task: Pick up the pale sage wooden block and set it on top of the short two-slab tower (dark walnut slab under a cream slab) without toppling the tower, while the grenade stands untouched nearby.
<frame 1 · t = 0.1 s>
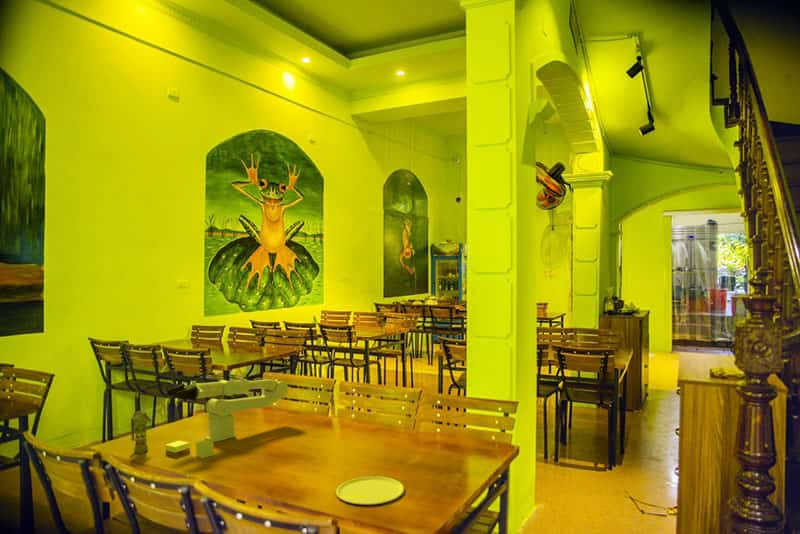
hand: (171, 393, 209), 22 cm above the table, tool horizontal, fingers open, 7 cm apart
sage block: (204, 455, 202), on the table
cream slab: (177, 449, 206), point 1 cm above the table, touching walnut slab
grenade: (140, 450, 209), on the table
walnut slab: (178, 454, 206), on the table, touching cream slab
plate: (370, 493, 166), on the table
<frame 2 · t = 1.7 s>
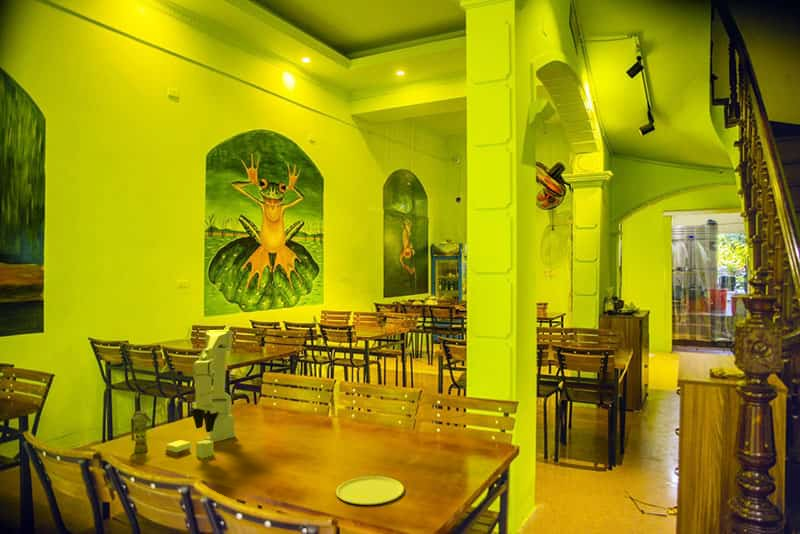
hand: (204, 429, 202), 10 cm above the table, tool pointing down, fingers open, 7 cm apart
nothing on the table moved.
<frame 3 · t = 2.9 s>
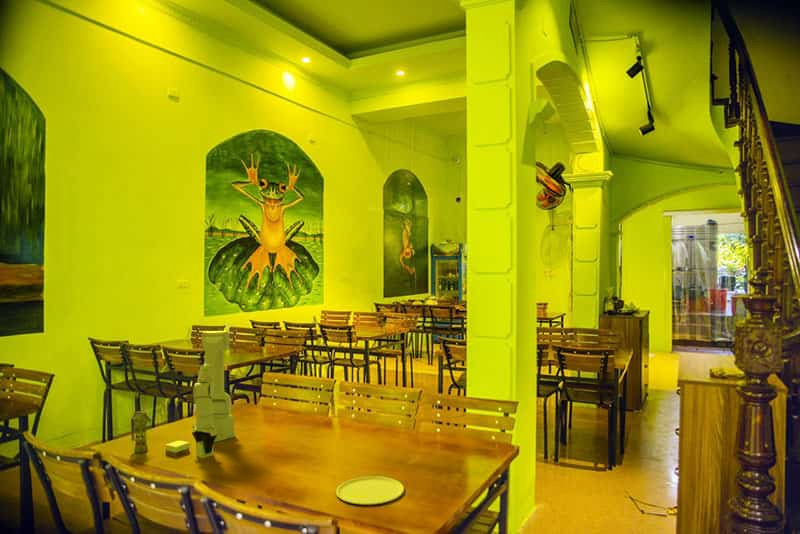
hand: (204, 451, 202), 1 cm above the table, tool pointing down, fingers closed on sage block, 4 cm apart
sage block: (204, 455, 202), on the table, touching gripper
everything else where it was.
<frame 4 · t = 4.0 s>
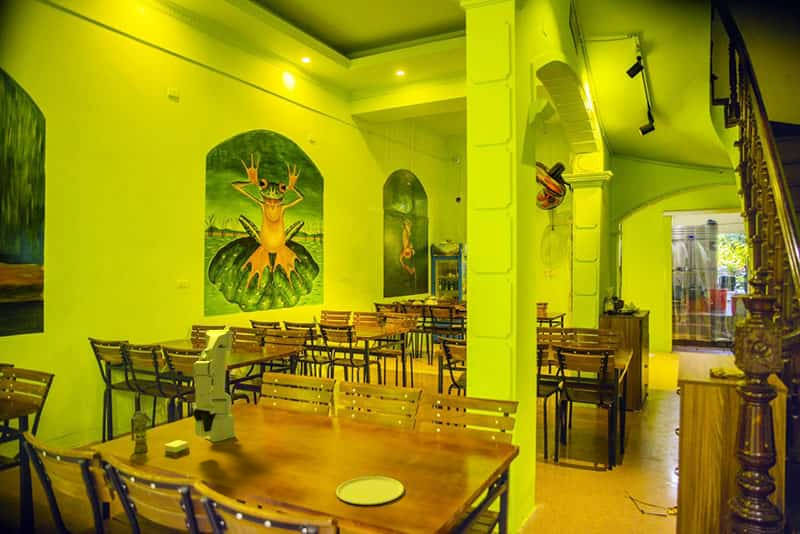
hand: (204, 430, 202), 9 cm above the table, tool pointing down, fingers closed on sage block, 4 cm apart
sage block: (204, 434, 202), point 8 cm above the table, touching gripper
everything else where it was.
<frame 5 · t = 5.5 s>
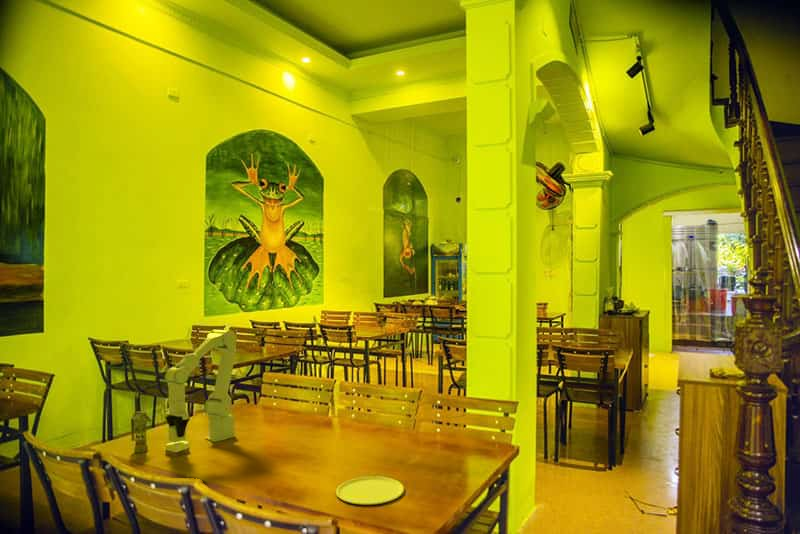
hand: (177, 435, 206), 6 cm above the table, tool pointing down, fingers closed on sage block, 4 cm apart
sage block: (177, 439, 206), point 5 cm above the table, touching gripper
cream slab: (177, 448, 206), point 1 cm above the table
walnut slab: (177, 454, 206), on the table
everything else where it was.
when the fingers open (6 cm above the table, at t = 5.9 s): sage block drops 1 cm, resting on cream slab.
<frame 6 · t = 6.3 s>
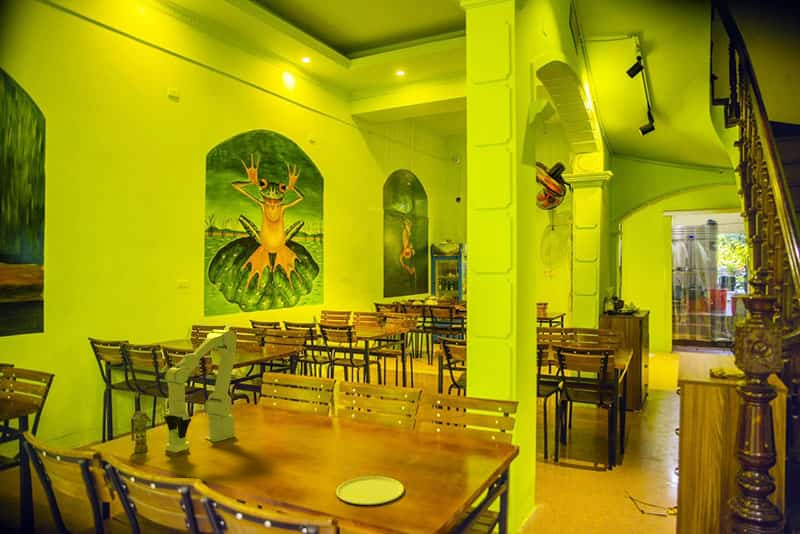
hand: (177, 435, 206), 6 cm above the table, tool pointing down, fingers open, 7 cm apart
sage block: (177, 443, 206), point 3 cm above the table, touching cream slab
cream slab: (178, 448, 206), point 1 cm above the table, touching sage block, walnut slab
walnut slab: (177, 454, 206), on the table, touching cream slab
everything else where it was.
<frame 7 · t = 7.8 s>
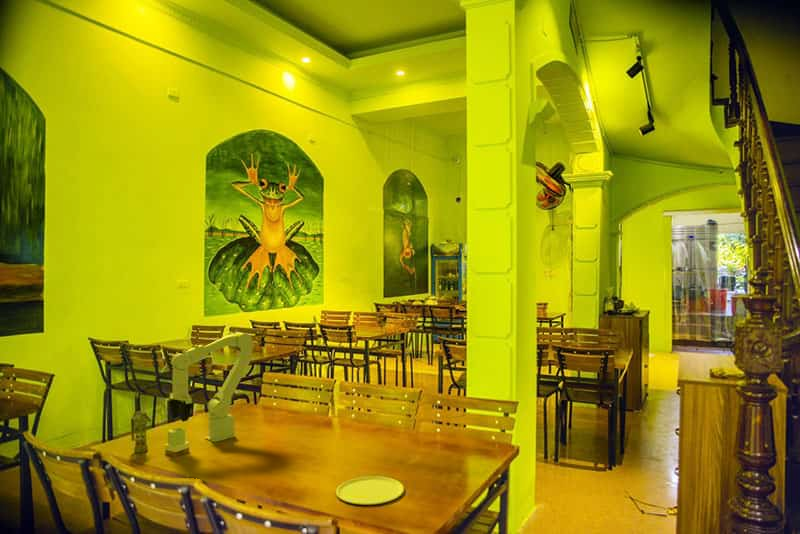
hand: (180, 419, 214), 10 cm above the table, tool pointing down, fingers open, 7 cm apart
nothing on the table moved.
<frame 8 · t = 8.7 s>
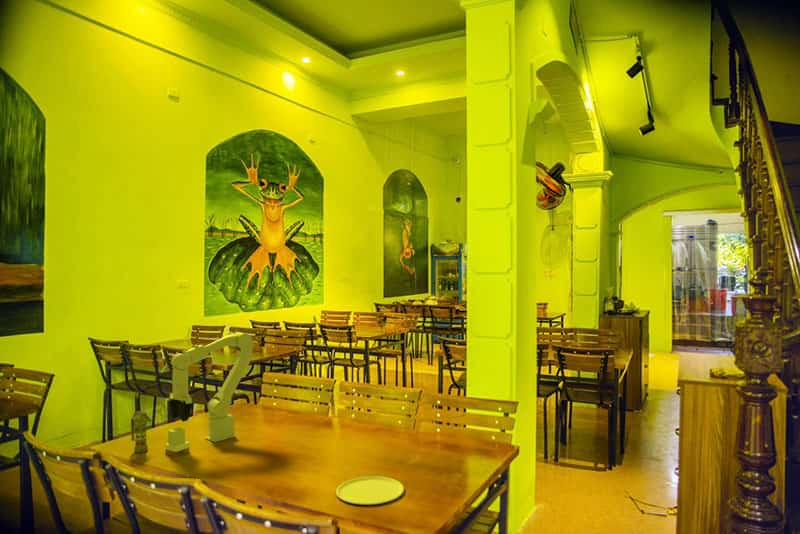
hand: (180, 419, 214), 10 cm above the table, tool pointing down, fingers open, 7 cm apart
sage block: (176, 443, 206), point 4 cm above the table
cream slab: (177, 448, 206), point 2 cm above the table
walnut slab: (177, 453, 206), on the table
everything else where it was.
at the end: sage block 0.3 cm off-centre on the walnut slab, point 4.0 cm above the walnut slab's base; sage block tilted 0°; cream slab tilted 0° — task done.
